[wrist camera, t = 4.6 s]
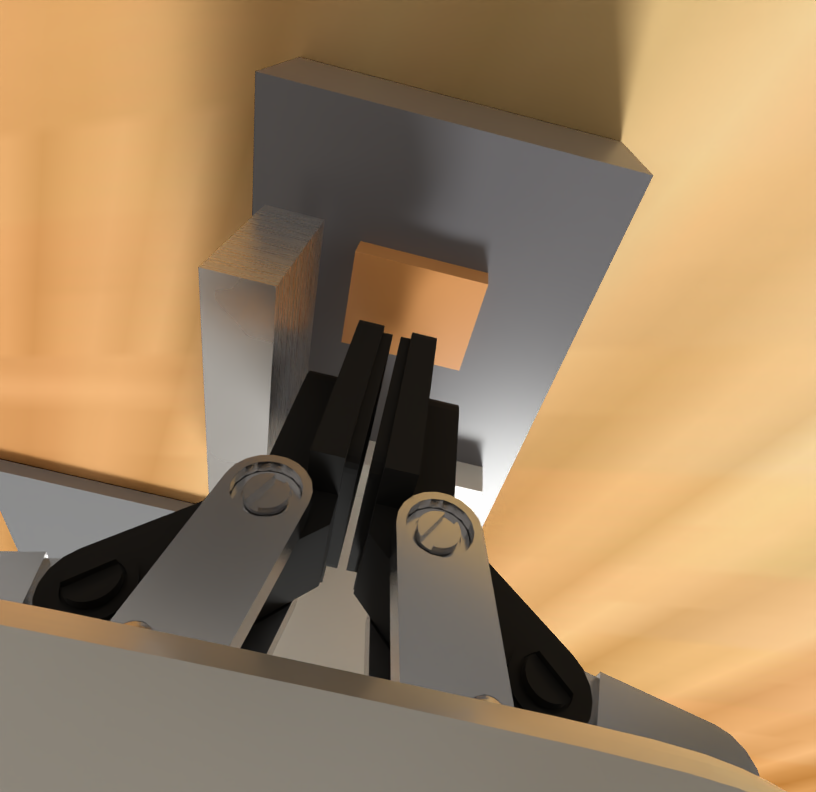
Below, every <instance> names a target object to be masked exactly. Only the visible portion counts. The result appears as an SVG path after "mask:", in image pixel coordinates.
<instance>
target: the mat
mask: <svg viewBox="0 0 816 792" xmlns="http://www.w3.org/2000/svg"><path fill="white" fill-rule="evenodd" d="M191 505H194V504H192V503H188V502H184V501H179V500H175V499H171V498H166V497H162V496H158V495H153V494H149V493H144V492H140V491H136V490H131V489H127V488H123V487H118V486H114V485H110V484H105V483H101V482H97V481H92V480H88V479H84V478H79V477H75V476H71V475H66V474H62V473H57V472H53V471H49V470H44V469H40V468H36V467H31V466H27V465H23V464H18V463H14V462H10V461H5V460H1V459H0V511H1V513H2V516H3V518H4V520H5V522H6V525H7V527H8V529H9V531H10V534H11V536H12V538H13V540H14V543H15V545H16V547H17V549H18V552H46V553H47V555H48V558H63V557H64V556H66V555H68V554H70V553H72V552H74V551H76V550H78V549H80V548H82V547H85V546H87V545H90V544H92V543H95V542H98V541H100V540H103V539H105V538H108V537H111V536H113V535H116V534H118V533H121V532H124V531H126V530H129V529H131V528H134V527H137V526H139V525H142V524H144V523H147V522H150V521H152V520H155V519H157V518H160V517H163V516H165V515H168V514H170V513H173V512H175V511H178V510H181V509H183V508H186V507H188V506H191Z"/></svg>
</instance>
